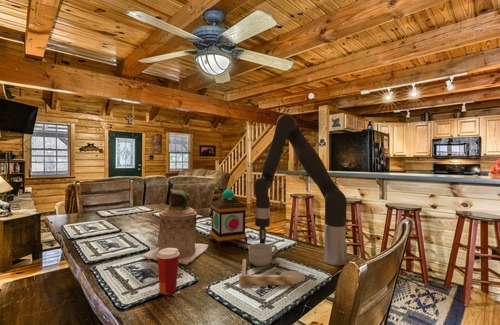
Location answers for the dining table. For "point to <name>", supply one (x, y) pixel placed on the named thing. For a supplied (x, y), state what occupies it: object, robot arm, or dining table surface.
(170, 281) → the paper cup
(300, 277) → the felt coaster
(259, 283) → the cup rest
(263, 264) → the teacup
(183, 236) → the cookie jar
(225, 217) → the decorative lantern
